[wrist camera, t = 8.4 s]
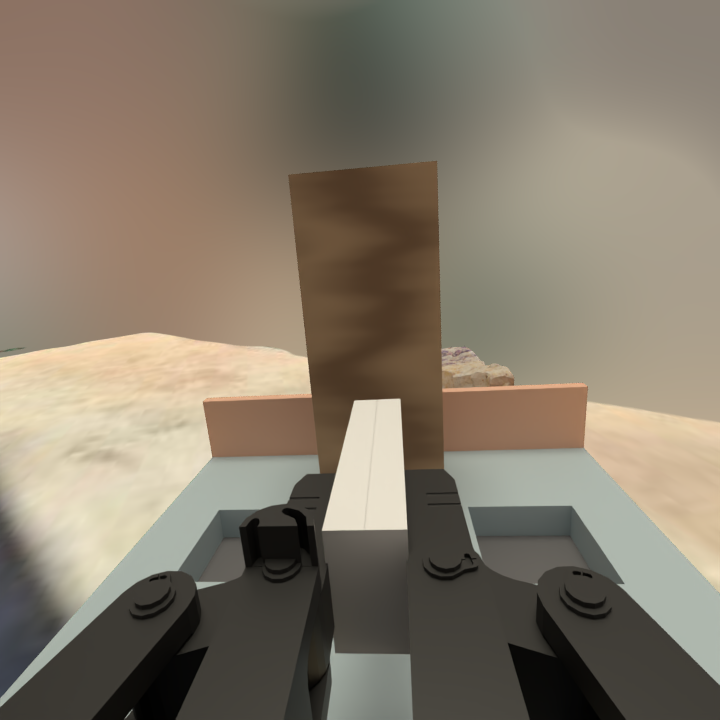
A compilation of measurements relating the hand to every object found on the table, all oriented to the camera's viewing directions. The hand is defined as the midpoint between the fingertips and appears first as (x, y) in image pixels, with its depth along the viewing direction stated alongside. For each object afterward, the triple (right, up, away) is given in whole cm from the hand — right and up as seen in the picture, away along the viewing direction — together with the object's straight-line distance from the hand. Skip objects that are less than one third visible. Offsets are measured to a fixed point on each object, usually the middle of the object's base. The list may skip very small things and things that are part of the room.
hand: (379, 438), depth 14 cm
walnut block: (+1, -4, +10) cm, 11 cm away
